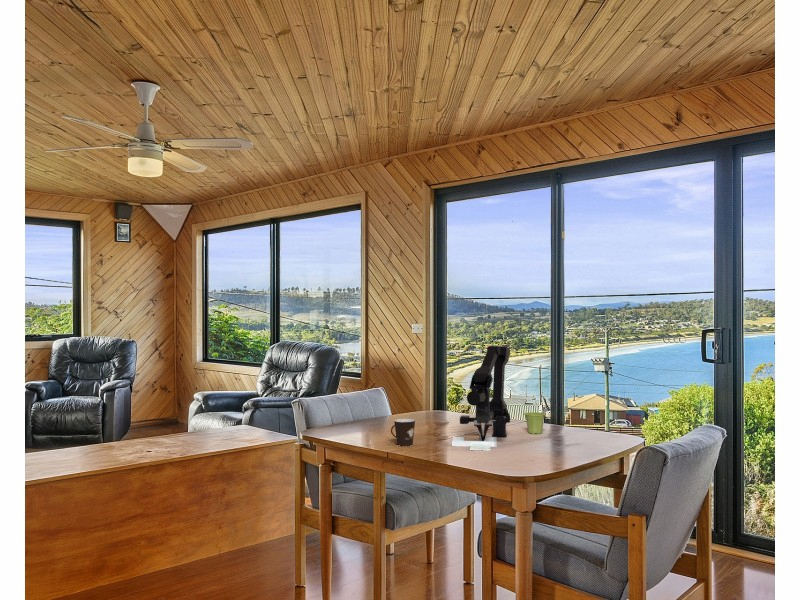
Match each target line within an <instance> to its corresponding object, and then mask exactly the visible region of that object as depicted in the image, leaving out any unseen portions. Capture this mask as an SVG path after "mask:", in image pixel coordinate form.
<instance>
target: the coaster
mask: <svg viewBox="0 0 800 600" xmlns="http://www.w3.org/2000/svg"><path fill="white" fill-rule="evenodd" d="M491 448H492V447H491V445H470V446H469V451H470V450H483V451H482V452H491V450H492V449H491Z"/></svg>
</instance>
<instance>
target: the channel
mask: <svg viewBox="0 0 800 600" xmlns="http://www.w3.org/2000/svg"><path fill="white" fill-rule="evenodd" d="M497 438H498V437H492V436H486V437H485V440H484V441H482V439H481V436H479V441H464V436H452V440H451V446H452V447H470V445H491V448H498V441H497Z"/></svg>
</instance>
